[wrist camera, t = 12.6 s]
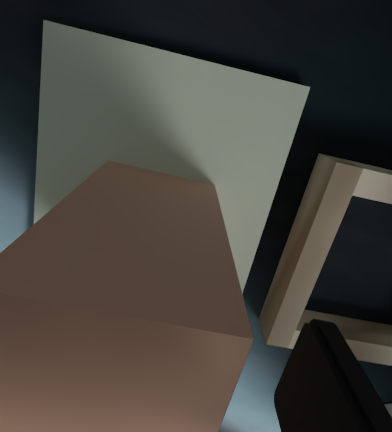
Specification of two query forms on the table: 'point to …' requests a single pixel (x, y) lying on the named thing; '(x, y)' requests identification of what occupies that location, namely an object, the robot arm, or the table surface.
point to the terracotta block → (122, 310)
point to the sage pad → (163, 125)
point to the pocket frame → (316, 254)
